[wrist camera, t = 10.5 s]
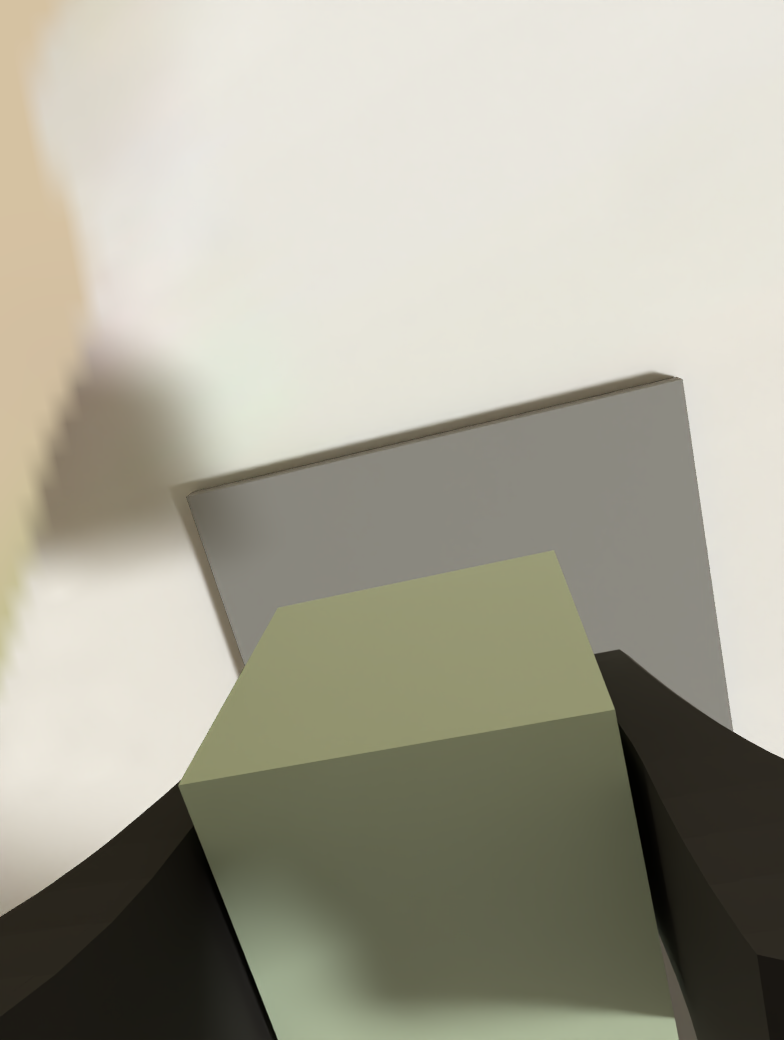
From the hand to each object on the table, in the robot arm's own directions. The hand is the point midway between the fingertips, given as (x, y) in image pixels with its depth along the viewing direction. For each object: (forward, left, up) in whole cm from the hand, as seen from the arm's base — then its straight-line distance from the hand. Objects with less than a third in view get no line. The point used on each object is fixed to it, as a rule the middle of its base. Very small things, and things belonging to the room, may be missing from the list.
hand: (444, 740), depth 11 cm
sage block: (0, 0, -1) cm, 1 cm away
